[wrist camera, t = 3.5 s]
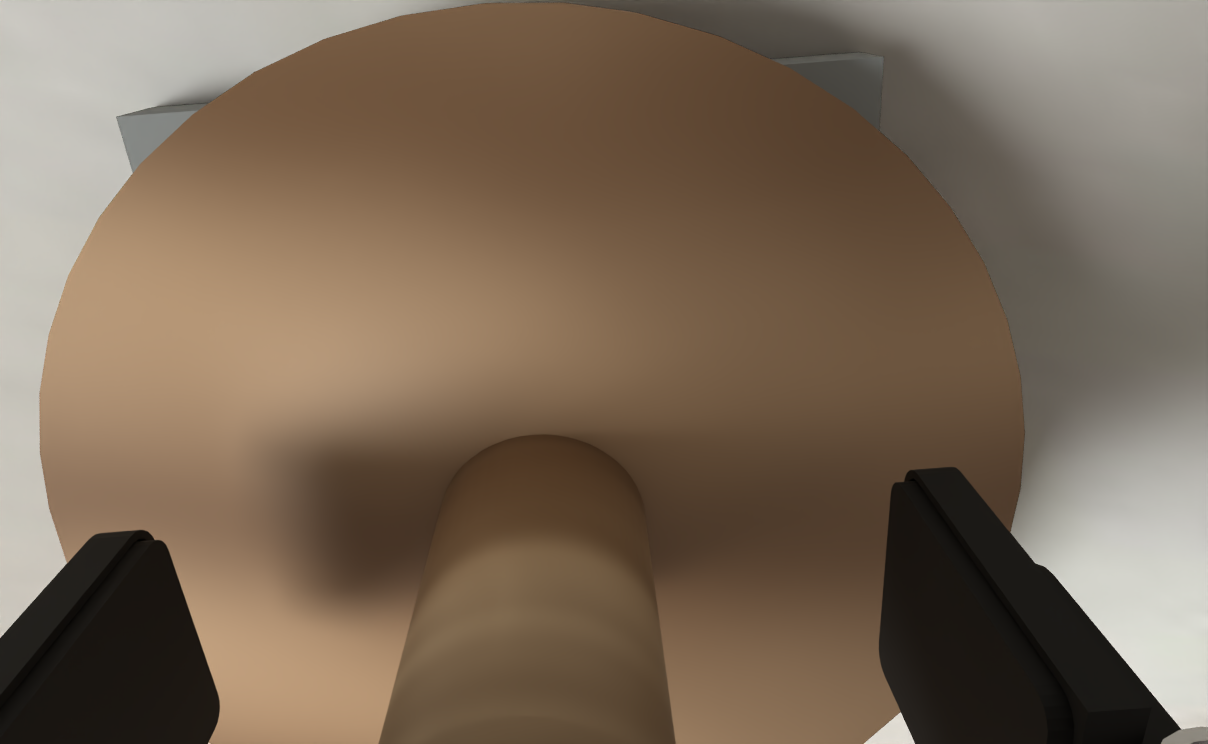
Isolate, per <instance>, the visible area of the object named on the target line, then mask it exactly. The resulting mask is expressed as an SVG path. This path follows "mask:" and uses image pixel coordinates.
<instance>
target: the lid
mask: <svg viewBox="0 0 1208 744" xmlns="http://www.w3.org/2000/svg"><path fill="white" fill-rule="evenodd" d="M1024 437H1025V430H1024V416H1023V402H1022V389H1021V376H1020V372H1019V368H1018V364H1017V359H1016V355H1015V351H1014V346H1013V342H1012V338H1011V334H1010V329H1009V325H1008V321H1007V318H1006V315H1005V313H1004V310H1003V308H1002V306H1001V303H1000V301H999V298H998V296H997V293H996V291H995V288H994V286H993V283H992V281H991V279H990V276H989V274H988V271H987V269H986V266H985V264H984V262H983V260H982V259H981V257H980V255H979V254H978V252H977V250H976V249H975V247H974V245H973V244H972V242H971V240H970V239H969V237H968V235H967V234H966V232H965V230H964V229H963V227H962V225H961V224H960V222H959V220H958V219H957V217H956V216H955V214H954V212H953V211H952V209H951V207H950V206H949V205H948V204H947V203H946V201H945V200H944V199H943V198H942V197H941V195H940V194H939V193H938V192H937V191H936V189H935V188H934V187H933V186H932V185H931V184H930V182H929V181H928V180H927V179H926V178H925V176H924V175H923V174H922V173H921V172H920V170H919V169H918V168H917V167H916V166H915V165H914V163H913V162H912V161H911V160H910V159H909V157H908V156H907V155H906V154H905V153H904V152H902V151H901V150H900V149H899V148H898V147H897V146H896V145H894V144H893V143H892V142H891V141H890V140H889V139H888V138H886V137H885V136H884V135H883V134H882V133H881V132H880V131H878V130H877V129H876V128H875V127H874V126H873V125H872V124H870V123H869V122H868V121H867V120H866V119H865V118H864V117H862V116H861V115H860V114H859V113H858V112H857V111H856V110H854V109H853V108H852V107H850V106H849V105H847V104H845V103H844V102H842V101H841V100H839V99H838V98H836V97H834V96H833V95H831V94H830V93H828V92H827V91H825V90H824V89H822V88H820V87H819V86H817V85H816V84H814V83H813V82H811V81H810V80H808V79H806V78H805V77H803V76H802V75H800V74H799V73H797V72H795V71H794V70H792V69H791V68H789V67H786V66H784V65H782V64H780V63H778V62H775V61H773V60H771V59H769V58H767V57H764V56H762V55H760V54H758V53H755V52H753V51H751V50H749V49H747V48H744V47H742V46H740V45H738V44H735V43H733V42H731V41H729V40H727V39H724V38H722V37H720V36H716V35H713V34H710V33H706V32H703V31H699V30H696V29H692V28H689V27H685V26H682V25H678V24H675V23H671V22H668V21H664V20H661V19H657V18H654V17H650V16H647V15H643V14H640V13H636V12H629V11H622V10H615V9H608V8H600V7H593V6H586V5H578V4H571V3H485V4H477V5H470V6H463V7H457V8H450V9H443V10H437V11H430V12H423V13H417V14H410V15H403V16H399V17H395V18H392V19H389V20H385V21H382V22H379V23H376V24H372V25H369V26H366V27H362V28H359V29H356V30H353V31H349V32H346V33H343V34H339V35H336V36H333V37H329V38H326V39H323V40H321V41H319V42H317V43H315V44H313V45H311V46H309V47H307V48H304V49H302V50H300V51H298V52H296V53H294V54H292V55H290V56H288V57H286V58H283V59H281V60H279V61H277V62H275V63H273V64H271V65H269V66H267V67H265V68H262V69H260V70H258V71H256V72H254V73H253V74H251V75H250V76H248V77H247V78H245V79H244V80H242V81H241V82H239V83H238V84H236V85H235V86H234V87H232V88H231V89H229V90H228V91H226V92H225V93H223V94H222V95H220V96H219V97H217V98H216V99H214V100H213V101H212V102H210V103H209V104H207V105H206V106H204V107H203V108H201V109H200V110H198V111H197V112H195V113H194V114H192V115H191V116H190V117H189V118H188V119H187V120H186V121H185V122H184V123H183V124H182V125H181V126H180V127H179V128H178V129H177V130H175V131H174V132H173V133H172V134H171V135H170V136H169V137H168V138H167V139H166V140H165V141H164V142H163V143H162V144H161V145H160V146H158V147H157V148H156V149H155V150H154V151H153V152H152V153H151V154H150V155H149V156H148V157H147V158H146V159H145V160H144V161H143V162H142V163H140V165H139V166H138V167H137V169H136V170H135V171H134V173H133V174H132V175H131V177H130V178H129V179H128V180H127V182H126V183H125V184H124V186H123V187H122V188H121V190H120V191H119V192H118V194H117V195H116V196H115V197H114V199H113V200H112V201H111V203H110V204H109V205H108V207H107V208H106V209H105V211H104V212H103V213H102V214H101V216H100V217H99V219H98V221H97V222H96V224H95V226H94V228H93V230H92V232H91V234H90V236H89V238H88V239H87V241H86V243H85V245H84V247H83V249H82V251H81V253H80V255H79V256H78V258H77V260H76V262H75V264H74V266H73V268H72V270H71V272H70V273H69V275H68V278H67V281H66V284H65V287H64V290H63V293H62V296H61V299H60V302H59V305H58V308H57V311H56V314H55V317H54V320H53V323H52V326H51V329H50V333H49V336H48V343H47V349H46V356H45V362H44V369H43V375H42V381H41V388H40V456H41V462H42V468H43V474H44V480H45V486H46V492H47V498H48V504H49V509H50V512H51V515H52V518H53V521H54V525H55V528H56V531H57V534H58V537H59V540H60V543H61V546H62V549H63V552H64V555H65V558H66V561H67V563H68V562H69V561H70V560H71V559H72V558H73V556H74V555H75V554H76V553H77V552H78V551H79V550H80V549H81V547H82V546H83V545H84V544H85V543H86V542H87V541H88V540H89V539H90V538H91V537H92V536H94V535H95V534H99V533H106V532H119V531H132V530H145V531H148V532H149V533H150V534H151V535H152V536H153V538H154V540H161V541H163V542H164V543H165V544H166V546H167V548H168V550H169V552H170V555H171V558H172V561H173V564H174V567H175V570H176V573H177V576H178V579H179V582H180V584H181V587H182V590H183V593H184V596H185V599H186V602H187V605H188V608H189V611H190V614H191V616H192V619H193V622H194V625H195V628H196V631H197V634H198V637H199V640H200V643H201V646H202V648H203V651H204V654H205V657H206V660H207V663H208V666H209V669H210V672H211V675H212V678H213V680H214V683H215V686H216V689H217V692H218V695H219V700H220V713H219V719H218V723H217V725H216V728H215V730H214V732H213V734H212V736H211V738H210V740H209V743H211V744H864V743H865V742H866V741H867V740H868V739H869V738H871V737H872V736H873V735H874V734H875V733H876V732H878V731H879V730H880V729H881V728H882V727H884V726H885V725H886V724H887V723H888V722H889V721H891V720H892V719H893V718H894V717H895V716H896V715H898V714H899V713H900V712H901V711H900V709H899V707H898V704H897V702H896V700H895V698H894V696H893V694H892V691H891V689H890V687H889V685H888V683H887V680H886V678H885V676H884V673H883V671H882V667H881V663H880V657H879V633H880V621H881V608H882V596H883V583H884V571H885V558H886V546H887V533H888V521H889V508H890V496H891V489H892V486H893V484H894V483H895V482H904V479H905V476H906V474H907V472H908V471H910V470H916V469H929V468H942V467H956V468H957V469H958V470H959V471H961V473H962V474H963V475H964V476H965V478H966V479H967V480H968V481H969V482H970V484H971V485H972V486H973V487H974V489H975V490H976V491H977V492H978V494H979V495H980V496H981V497H982V499H983V500H984V501H985V502H986V503H987V505H988V506H989V507H990V508H991V510H992V511H993V512H994V513H995V515H996V516H997V517H998V518H999V519H1000V521H1001V522H1002V523H1003V524H1004V526H1005V527H1006V528H1007V529H1008V531H1009V532H1010V531H1011V527H1012V522H1013V518H1014V514H1015V509H1016V505H1017V501H1018V497H1019V492H1020V487H1021V475H1022V462H1023V450H1024Z"/></svg>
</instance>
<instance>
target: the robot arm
mask: <svg viewBox="0 0 1208 744" xmlns="http://www.w3.org/2000/svg"><path fill="white" fill-rule="evenodd" d="M879 657H880V663H881V667H882V671H883V673H884V676H885V678H886V680H887V683H888V685H889V687H890V689H891V691H892V694H893V696H894V698H895V700H896V702H897V704H898V707H899V709H900V711H901V713H902V715H903V718H904V720H905V722H906V724H907V726H908V729H909V731H910V733H911V735H912V737H913V740H914V742H915V744H1208V727H1195V728H1189V729H1183V730H1181V728H1180V727H1179V726H1178V725H1177V724H1176V722H1175V721H1174V720H1173V719H1172V718H1171V716H1170V715H1169V714H1168V713H1167V711H1166V710H1165V709H1164V708H1163V707H1162V705H1161V704H1160V703H1159V702H1158V701H1157V699H1156V698H1155V697H1154V696H1153V695H1152V693H1151V692H1150V691H1149V690H1148V689H1147V687H1146V686H1145V685H1144V684H1143V682H1142V681H1141V680H1140V679H1139V678H1138V676H1137V675H1136V674H1135V673H1134V672H1133V670H1132V669H1131V668H1130V667H1129V666H1128V664H1127V663H1126V662H1125V661H1124V659H1123V658H1122V657H1121V656H1120V655H1119V653H1118V652H1117V651H1116V650H1115V649H1114V647H1113V646H1112V645H1111V644H1110V643H1109V641H1108V640H1107V639H1106V638H1105V636H1104V635H1103V634H1102V633H1101V632H1100V630H1099V629H1098V628H1097V627H1096V626H1095V624H1094V623H1093V622H1092V621H1091V620H1090V618H1089V617H1088V616H1087V615H1086V614H1085V612H1084V611H1083V610H1082V609H1081V607H1080V606H1079V605H1078V604H1077V603H1076V601H1075V600H1074V599H1073V598H1072V597H1071V595H1070V594H1069V593H1068V592H1067V591H1066V589H1065V588H1064V587H1063V586H1062V584H1061V583H1060V582H1059V581H1058V580H1057V578H1056V577H1055V576H1054V575H1053V574H1052V573H1051V572H1050V571H1049V570H1048V569H1047V568H1045V567H1044V566H1041V565H1038V564H1035V563H1034V561H1033V560H1032V559H1031V558H1030V556H1029V555H1028V554H1027V553H1026V552H1025V550H1024V549H1023V548H1022V547H1021V545H1020V544H1019V543H1018V542H1017V540H1016V539H1015V538H1014V537H1013V536H1012V534H1011V533H1010V532H1009V531H1008V529H1007V528H1006V527H1005V526H1004V524H1003V523H1002V522H1001V521H1000V519H999V518H998V517H997V516H996V515H995V513H994V512H993V511H992V510H991V508H990V507H989V506H988V505H987V503H986V502H985V501H984V500H983V499H982V497H981V496H980V495H979V494H978V492H977V491H976V490H975V489H974V487H973V486H972V485H971V484H970V482H969V481H968V480H967V479H966V478H965V476H964V475H963V474H962V473H961V471H959V470H958V469H957V468H956V467H942V468H929V469H916V470H910V471H908V472H907V474H906V476H905V479H904V482H895V483H894V484H893V486H892V489H891V496H890V508H889V521H888V533H887V546H886V558H885V571H884V583H883V596H882V608H881V621H880V633H879ZM219 713H220V700H219V695H218V692H217V689H216V686H215V683H214V680H213V678H212V675H211V672H210V669H209V666H208V663H207V660H206V657H205V654H204V651H203V648H202V646H201V643H200V640H199V637H198V634H197V631H196V628H195V625H194V622H193V619H192V616H191V614H190V611H189V608H188V605H187V602H186V599H185V596H184V593H183V590H182V587H181V584H180V582H179V579H178V576H177V573H176V570H175V567H174V564H173V561H172V558H171V555H170V552H169V550H168V548H167V546H166V544H165V543H164V542H163V541H161V540H154V538H153V536H152V535H151V534H150V533H149V532H148V531H145V530H132V531H119V532H106V533H99V534H95V535H94V536H92V537H91V538H90V539H89V540H88V541H87V542H86V543H85V544H84V545H83V546H82V547H81V549H80V550H79V551H78V552H77V553H76V554H75V555H74V556H73V558H72V559H71V560H70V561H69V562H68V563H67V564H66V565H65V566H64V568H63V569H62V570H61V571H60V572H59V573H58V574H57V575H56V577H55V578H54V579H53V580H52V581H51V582H50V583H49V584H48V585H47V587H46V588H45V589H44V590H43V591H42V592H41V593H40V594H39V595H38V597H37V598H36V599H35V600H34V601H33V602H32V603H31V604H30V606H29V607H28V608H27V609H26V610H25V611H24V612H23V613H22V614H21V616H20V617H19V618H18V619H17V620H16V621H15V622H14V623H13V625H12V626H11V627H10V628H9V629H8V630H7V631H6V632H5V633H4V635H3V636H2V637H1V638H0V744H208V742H209V740H210V738H211V736H212V734H213V732H214V730H215V728H216V725H217V723H218V719H219Z"/></svg>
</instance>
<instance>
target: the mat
mask: <svg viewBox="0 0 1208 744" xmlns="http://www.w3.org/2000/svg"><path fill="white" fill-rule="evenodd" d="M771 60H773V61H775V62H778V63H780V64H782V65H784V66H786V67H789V68H791V69H792V70H794V71H795V72H797V73H799V74H800V75H802V76H803V77H805V78H806V79H808V80H810V81H811V82H813V83H814V84H816V85H817V86H819V87H820V88H822V89H824V90H825V91H827V92H828V93H830V94H831V95H833V96H834V97H836V98H838V99H839V100H841V101H842V102H844V103H845V104H847V105H849V106H850V107H852V108H853V109H854V110H856V111H857V112H858V113H859V114H860V115H861V116H862V117H864V118H865V119H866V120H867V121H868V122H869V123H870V124H872V125H873V126H874V127H875V128H876V129H877V130H878V131H879V127H880V111H881V95H882V78H883V62H884V57H882V56H877V55H872V54H867V53H862V52H855V53H842V54H830V55H817V56H804V57H791V58H778V59H771ZM207 104H209V103H203V104H190V105H177V106H164V107H152V108H148V109H144V110H140V111H136V112H133V113H129V114H125V115H121V116H117V117H116V118H117V121H118V125H119V128H120V131H121V135H122V138H123V141H124V145H125V148H126V152H127V155H128V158H129V162H130V165H131V168H132V172H133V173H134V171H135V170H136V169H137V167H138V166H139V165H140V163H142V162H143V161H144V160H145V159H146V158H147V157H148V156H149V155H150V154H151V153H152V152H153V151H154V150H155V149H156V148H157V147H158V146H160V145H161V144H162V143H163V142H164V141H165V140H166V139H167V138H168V137H169V136H170V135H171V134H172V133H173V132H174V131H175V130H177V129H178V128H179V127H180V126H181V125H182V124H183V123H184V122H185V121H186V120H187V119H188V118H189V117H190V116H191V115H192V114H194V113H195V112H197V111H198V110H200V109H201V108H203V107H204V106H206V105H207Z"/></svg>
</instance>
